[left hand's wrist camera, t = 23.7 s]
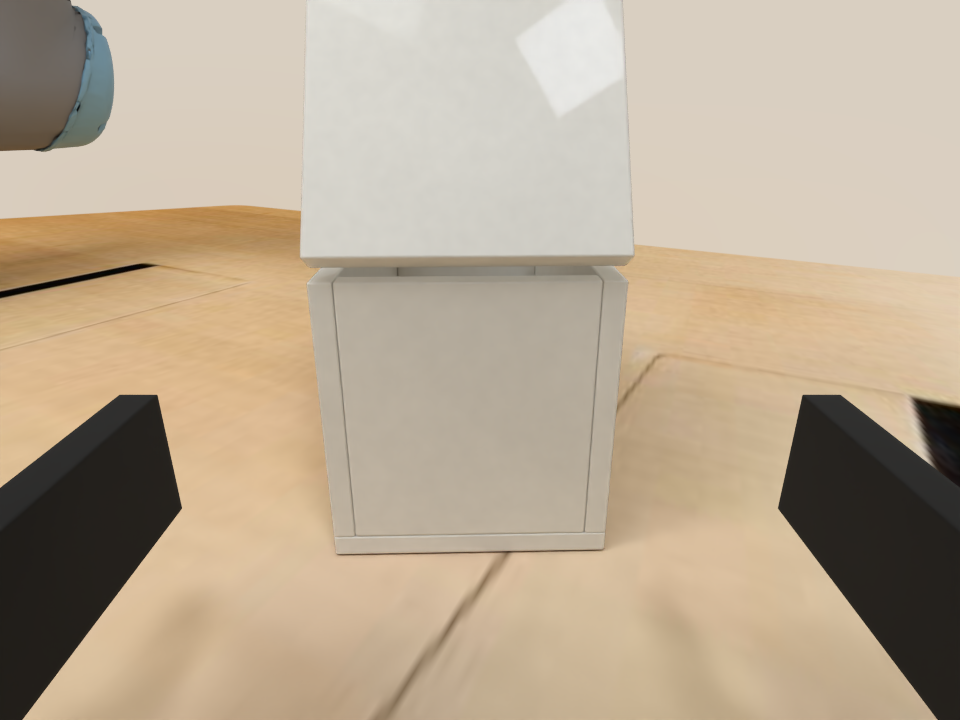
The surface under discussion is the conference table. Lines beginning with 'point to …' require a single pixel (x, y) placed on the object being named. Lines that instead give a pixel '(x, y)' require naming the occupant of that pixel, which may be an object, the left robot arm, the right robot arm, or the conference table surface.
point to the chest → (468, 405)
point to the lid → (465, 134)
